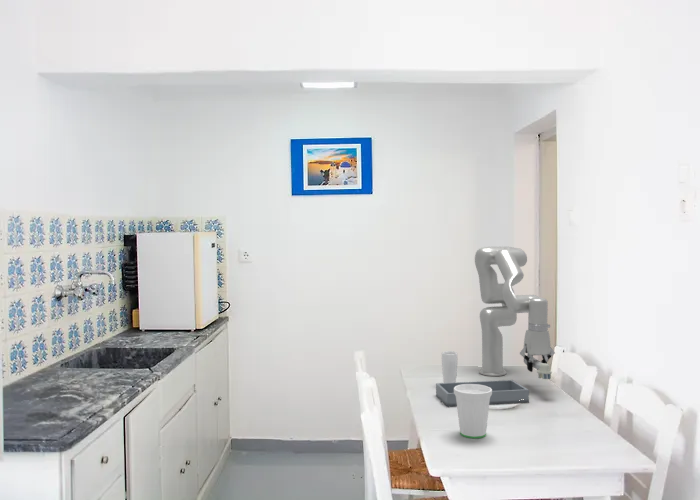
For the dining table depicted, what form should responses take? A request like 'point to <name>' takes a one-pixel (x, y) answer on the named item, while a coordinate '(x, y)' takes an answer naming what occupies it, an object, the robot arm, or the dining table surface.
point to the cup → (472, 409)
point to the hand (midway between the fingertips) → (536, 370)
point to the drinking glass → (449, 366)
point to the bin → (500, 392)
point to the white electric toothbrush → (541, 368)
